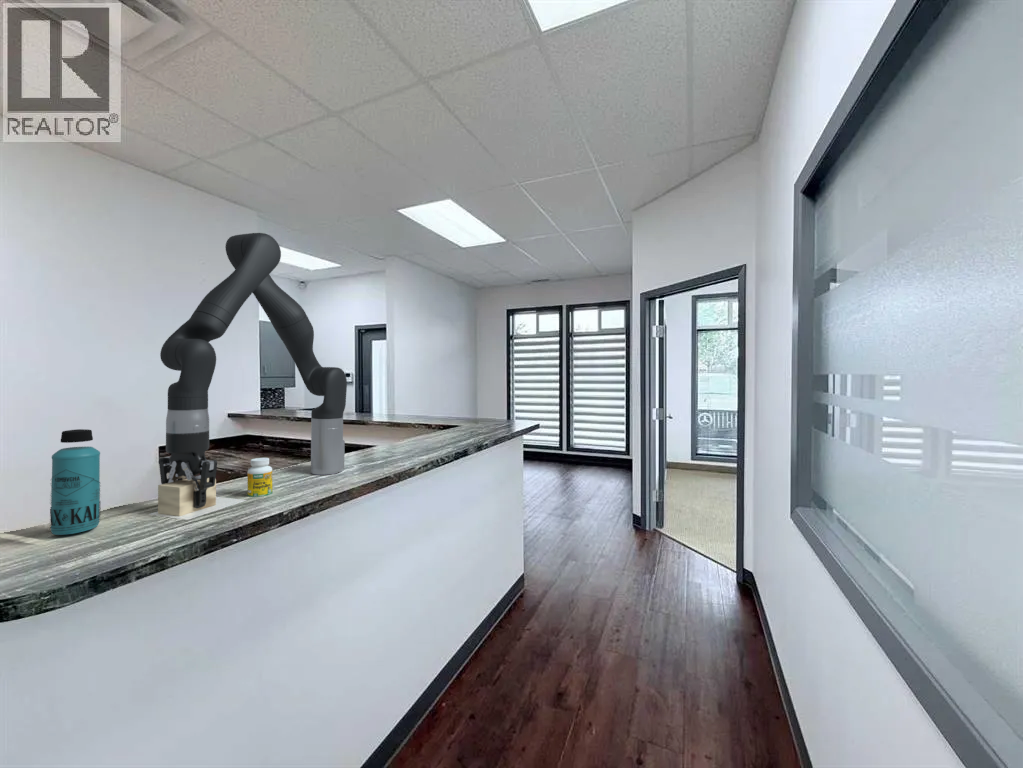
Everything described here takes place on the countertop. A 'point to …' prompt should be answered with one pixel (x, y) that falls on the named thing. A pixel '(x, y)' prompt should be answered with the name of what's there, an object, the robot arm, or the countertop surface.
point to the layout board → (220, 504)
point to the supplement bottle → (259, 478)
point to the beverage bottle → (75, 485)
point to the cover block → (181, 498)
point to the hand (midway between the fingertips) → (187, 505)
